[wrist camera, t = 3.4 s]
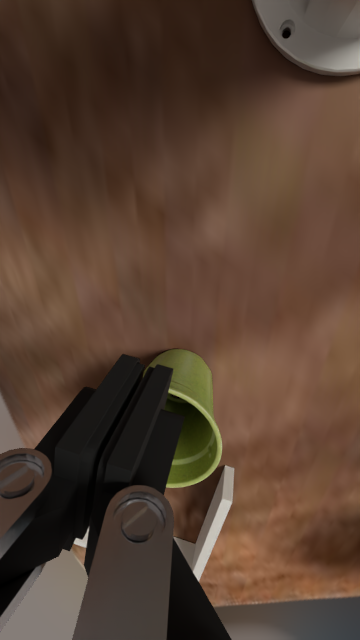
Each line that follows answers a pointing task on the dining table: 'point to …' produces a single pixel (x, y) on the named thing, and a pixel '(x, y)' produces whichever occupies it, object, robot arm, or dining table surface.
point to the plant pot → (191, 417)
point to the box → (203, 526)
